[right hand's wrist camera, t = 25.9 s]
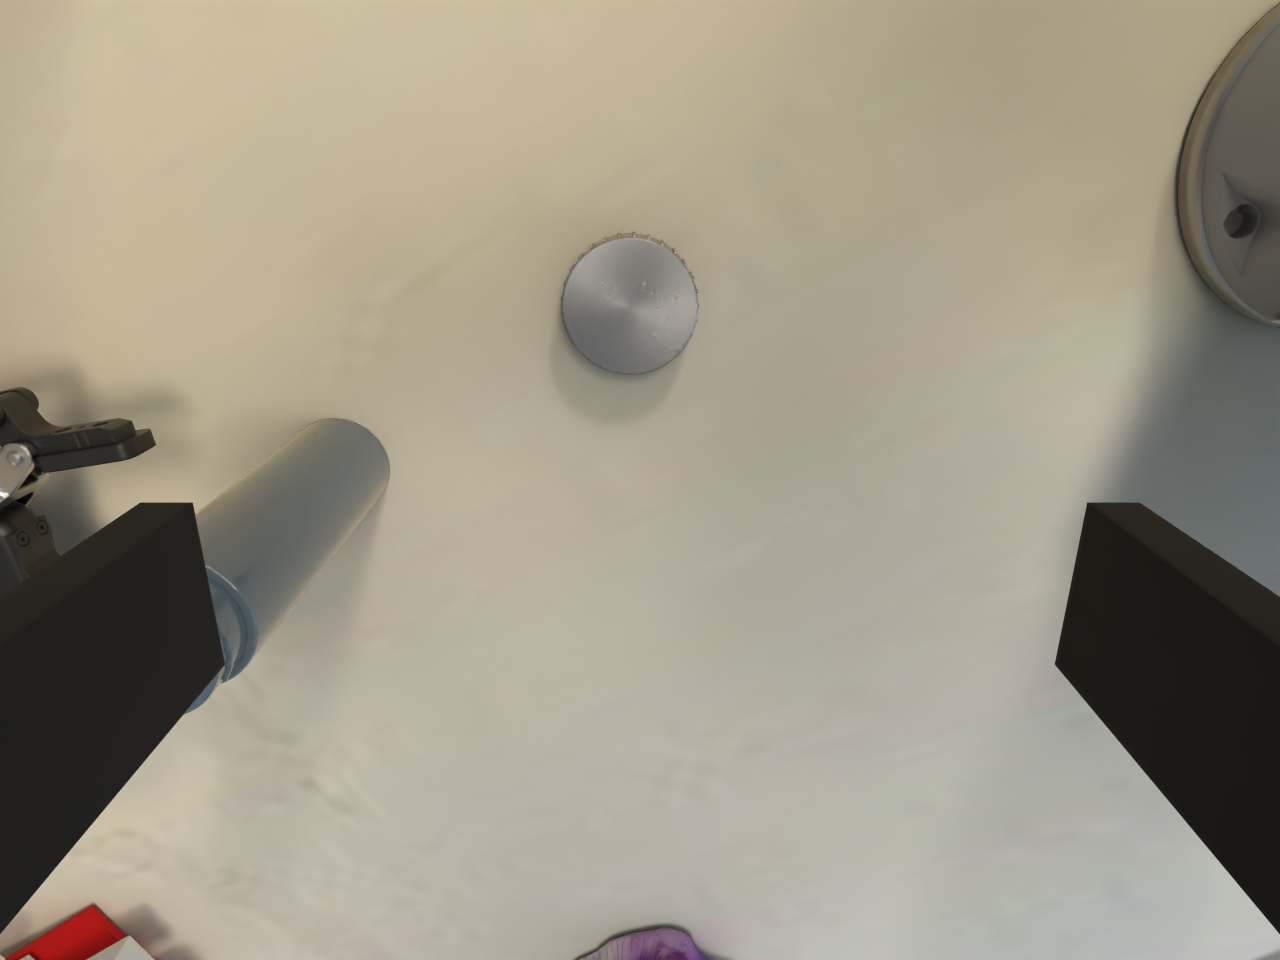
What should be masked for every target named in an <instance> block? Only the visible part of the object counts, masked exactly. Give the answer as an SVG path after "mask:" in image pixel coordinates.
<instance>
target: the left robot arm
mask: <svg viewBox="0 0 1280 960" xmlns="http://www.w3.org/2000/svg"><path fill="white" fill-rule="evenodd" d="M38 406H39V403H38V399H37V397H36V396H35V394H34V393H33V392H32V391H30V390H28V389H26V388H23V387H18V388H13V389H9V390H5V391H1V392H0V445H1V446H2V449H1V450H0V597H1V596H2V595H4V594H5V593H7V592H8V591H10V590H11V589H13V588H14V587H16V586H17V585H19V584H20V583H22V582H23V581H25V580H26V579H28V578H29V577H31V576H32V575H34V574H35V573H37V572H38V571H40V570H41V569H43V568H44V567H46V566H47V565H49V564H50V563H51V562H53V561H54V560H56V559H57V558H59V557H60V555H59V554H58V552H57V551H56V550H55V548H54V544H53V537H52V531H51V529H50V527H49V524H48V522H47V520H46V518H45V515H44V516H37V515H36V514H35V513H34V512H33V511H32V510H31V509H30V508H28V507H29V506H30V504H31V503H32V502H33V500H34V499H35V498H36V496H37V495H38V494H39V492H40V491H41V490H42V488H43V487H44V486H45V484H46V483H47V482H48V480H49V479H50V477H51V476H50V475H49V473H50V472H56V471H62V470H68V469H75V468H81V467H87V466H93V465H100V464H106V463H112V462H118V461H124V460H128V459H131V458H134V457H136V456H138V455H140V454H142V453H143V452H145V451H147V450H149V449H150V448H152V447H154V446H155V445H156V443H155V440H154V438H153V435H152V432H151V430H150V429H141V430H135V428H134V425H133V423H132V421H130V420H125V419H120V418H116V419H110V420H105V421H98V422H92V423H86V424H80V425H73V426H67V427H57V426H54V425H52V424H50V423H48V422H47V421H46V420H45V419H44V418H43V417H42V416H41V415H40V414H39V412H38V411H37V410H38Z"/></svg>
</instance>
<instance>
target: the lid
mask: <svg viewBox="0 0 1280 960" xmlns="http://www.w3.org/2000/svg"><path fill="white" fill-rule="evenodd" d="M578 259H579V261H578V262H577V263H576V265H573V266H572V268H571V269H570V271H571V273H570V275H569V277H568V278H567V280H566V281H565V283H564V285H565V288H564V292H563V296H562V298H561V300H562V315H563V319H564V323H565V328H566V330H567V332H568V335H569V337H570V339H571V341H572V342H573V344H574V345H575V347H576V348H577V349H578V350H579V352H580V353H581V354H582V355H583V356H584V357H585V358H587V359H588V360H589V361H591V362H592V363H593V364H595V365H597V366H599V367H600V368H603V369H605V370H607V371H610V372H614V373H619V374H642V373H646V372H650V371H653V370H656V369H658V368H660V367H662V366H664V365H666V364H667V363H669V362H670V361H671V360H673V359H674V358H675V357H676V356H677V355H678V354H679V353H680V352H681V351H682V350H683V349H684V347H685V346H686V344H687V343H688V341H689V339H690V337H691V336H692V333H693V331H694V328H695V324H696V322H697V314H698V308H699V304H698V300H697V293H698V290H697V288H696V286H695V285H694V282H693V280H692V279H693V278H694V277H693V275H692V273H691V272H689V271H688V269H687V267H686V265H687V264H686V262H685V260H684V259H683V260H682V259H681V258H680V257H679V256H678V255H677V254H676V251H675V249H674V248H673V249H671V248H670V247H668V246H667V245H666V244H664V242H663V240H661V241H659V240H656V239H654V238H652V237H650V235H648V234H647V236H645V235H639V234H635V232H633V234H621V233H618V235H616V236H612V237H609V238H607V237H604V239H603V240H602V241H600V242H598V243H597V244H595V245H594V243H593V244H592V245H591V246H590V249H588V250H587V251H586V252H585V253H584V254H583V253H582V254H581V255H580V256H579V258H578Z"/></svg>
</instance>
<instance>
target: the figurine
mask: <svg viewBox="0 0 1280 960" xmlns="http://www.w3.org/2000/svg"><path fill="white" fill-rule="evenodd" d="M579 960H708V959H707V958H706V957H705V956H703V955H702V954H701V953H700V952H699V951H698V949H697V948H696V947H695V946H694V943H693V941H692V939H691V938H690V937H689V936H688V935H687V934H686V933H685V932H684V931H679V930H676V929H673V928H670V927H661V928H658V929H654V930H648V931H643V932H637V933H632V934H627V935H624V936H621V937H618V938H615V939H614V938H612V939H611V940H610V941H609V942H608V943H606V944H605V945H603V946H602V947H601V948H600V949H599V950H598V951H596V952H594V953H592V954H591V955H587V956H586V957H583V958H581V959H579Z"/></svg>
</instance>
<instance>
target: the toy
mask: <svg viewBox="0 0 1280 960" xmlns="http://www.w3.org/2000/svg"><path fill="white" fill-rule="evenodd" d="M0 960H155V959H153V958H152V957H151V956H150V955H149V954H148V953H147V952H146V951H145V950H144V949H143V948H142V947H141V946H140V945H139V944H138V943H137V942H136V941H135V940H134V939H133V938H132V937H131V936H130V935H129V936H127V937H126V936H125V935H124V934H123V933H122V932H120V931H119V930H118V929H117V928H116V927H115V926H114V925H113V924H112V923H111V922H110V921H109V920H107V919H106V918H105V917H104V916H103V915H102V914H101V913H100V912H99V911H98V910H97V909H96V908H95V907H93V906H92V905H91V906H90V907H88V908H86V909H85V910H83V911H82V912H80V913H78V914H77V915H75V916H74V917H72V918H70V919H69V920H67V921H65V922H64V923H62V924H61V925H59V926H57V927H56V928H54V929H53V930H51V931H49V932H48V933H46V934H45V935H43V936H41V937H40V938H38V939H37V940H35V941H33V942H32V943H30V944H28V945H27V946H25V947H24V948H22V949H20V950H19V951H17V952H16V953H14V954H12V955H11V956H9V957H8V958H4V957H3V956H1V955H0Z"/></svg>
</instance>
